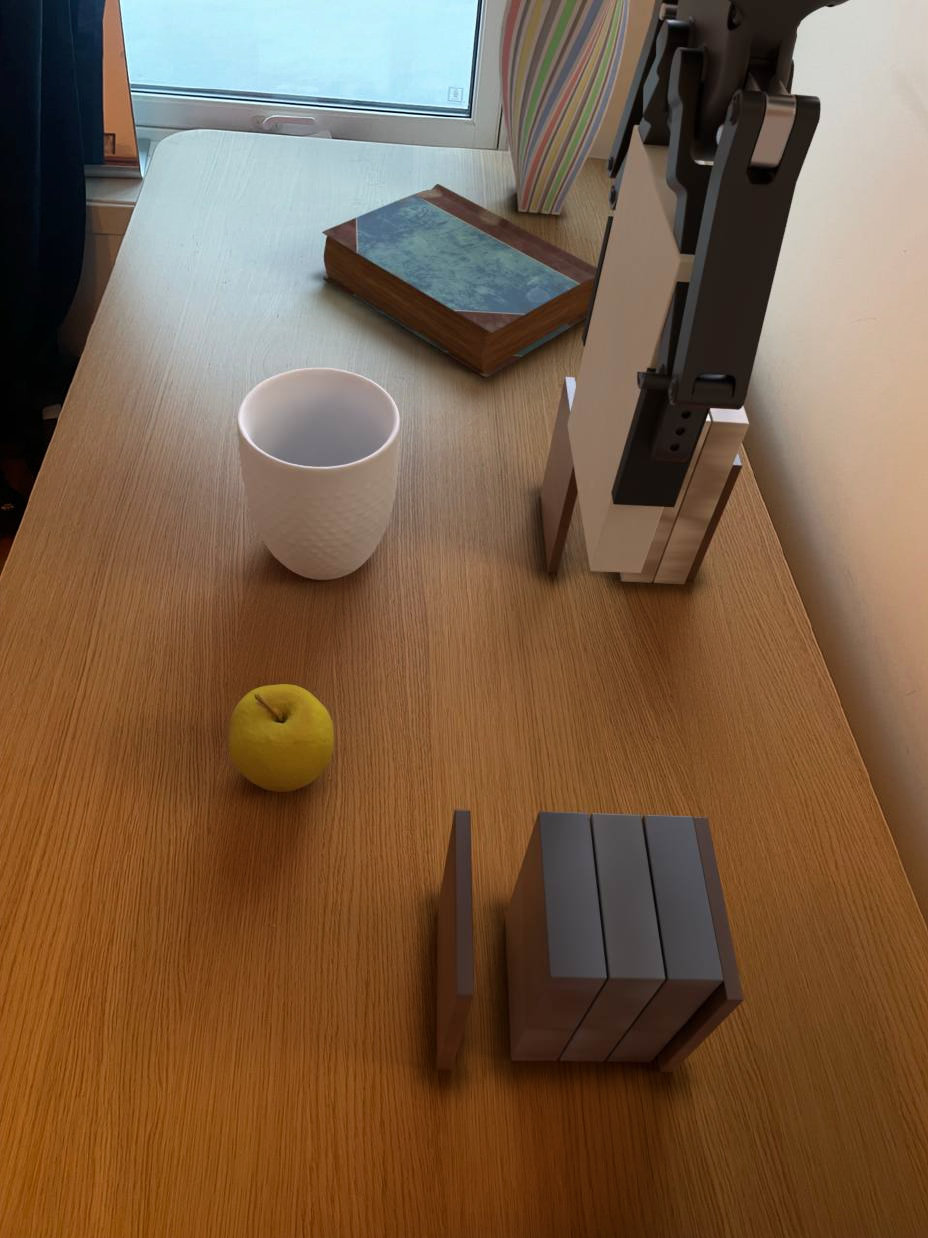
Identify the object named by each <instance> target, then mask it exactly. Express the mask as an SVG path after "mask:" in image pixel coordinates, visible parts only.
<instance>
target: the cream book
mask: <svg viewBox="0 0 928 1238" xmlns="http://www.w3.org/2000/svg"><path fill="white" fill-rule="evenodd" d="M638 127H639V125H634V128H633V133H632V137H631V141H630V146H629V150H628V155H627V159H626V164H625V168H624V173H623V177H622V182H621V186H620V191H619V195H618V200H617V204H616V209H615V210H614V214H613V216H614V218H613V222H612V227H611V231H610V236H609V240H608V245H607V249H606V254H605V258H604V263H603V267H602V272H601V276H600V281H599V285H598V290H597V294H596V299H595V303H594V308H593V312H592V317H591V321H590V326H589V330H588V335H587V339H586V344H585V346H584V349H583V353H582V356H581V357H582V358H581V362H580V367H579V370H578V375H577V380H576V388H575V393H574V397H573V402H572V406H571V411H570V415H569V420H568V424H567V426H568V432H569V438H570V445H571V451H572V458H573V464H574V470H575V477H576V483H577V490H578V494H577V497H578V501H579V508H580V515H581V521H582V527H583V534H584V540H585V546H586V547H585V548H586V552H587V553H586V554H587V559H588V566H589V570H590V572H606V573H607V572H608V573H620V572H625V573H641V570H642V568H643V565H644V562H645V559H646V556H647V553H648V550H649V548H650V545H651V542H652V539H653V536H654V533H655V531H656V528H657V525H658V522H659V519H660V516H661V513H662V511H663V508H664V507H656V506H635V505H615V504H613V500H612V494H611V491H612V488H613V485H614V481H615V478H616V474H617V471H618V467H619V464H620V460H621V457H622V453H623V450H624V446H625V443H626V439H627V436H628V432H629V429H630V426H631V422H632V419H633V415H634V412H635V408H636V405H637V401H638V398H639V394H640V391H641V389H639V388H638V385H637V372H646V370H647V367H649V368H654V369H656V368H657V366H658V358H659V349H660V341H661V334H662V330H663V327H664V323H665V320H666V317H667V313H668V310H669V306H670V303H671V300H672V296H673V293H674V289H675V286H676V282H677V281H680V282H690V279H691V273H692V268H693V263H694V258H695V255H689V254H680V252H679V249H678V246H677V243H676V240H675V237H674V234H673V230H674V221H675V212H676V204H677V196H676V194H675V193H674V192H673V191H672V190H671V189H670V188H669V187H668V185H667V183H666V171H667V162H668V153H669V146H658V145H646V144H643V143H642V140H641V137H640V134H639V131H638ZM694 161H695V162H696V163H698V164H704V165H707V163H706V161H699V160H694Z"/></svg>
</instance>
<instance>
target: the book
mask: <svg viewBox="0 0 928 1238" xmlns="http://www.w3.org/2000/svg"><path fill="white" fill-rule="evenodd" d="M321 233H322V234H323V235H325V236H326V238H325V243H324V244H325V245H324V249H323V263H324V268H325V273H326V274H324V275H323V278H324V279H325V280H327V281H329V282H330V283H331V284H333V285H335V286H336V287H338V288H340V289H341V290H342V291H344V292H346V293H348V294H350V295H351V296H353V297H354V298H356V299H358V300H359V301H361V302H362V303H364V304H366V306H369V308H372V309H373V310H375V311H377V312H378V313H380V314H382V315H383V316H385V317H386V318H388V319H390V320H391V321H393V322H394V323H396V324H398V325H399V326H400V327H402V328H404V329H406V330H407V331H409V332H410V333H412V334H414V335H415V336H417V337H419V338H420V339H422V340H423V341H425V342H426V343H429V345H431V346H433V347H435V348H436V349H437V350H439V351H441V352H443V353H444V354H446V355H448V356H449V357H450V358H453V359H454V360H456V361H457V362H458V363H461V364H462V365H464V366H465V367H467V368H469V369H470V370H472V371H473V372H475V373H476V374H478V375H480V376H482V377H483V378H485V379H486V378H489V377H490V376H492V375H494V374H495V373H497V372H499V371H500V370H502V369H504V368H505V367H507V366H509V365H510V364H512V363H514V362H515V361H517V360H519V359H520V358H522V357H524V356H525V355H527V354H529V353H530V352H532V351H534V350H535V349H537V348H539V347H540V346H542V345H544V344H546V343H547V342H548V341H550V340H552V339H553V338H556V337H557V336H558V335H560V334H562V333H563V332H565V331H567V330H569V329H570V328H572V327H574V326H575V325H576V324H578V323H580V322H581V321H583V320H584V319H586V316H587V312H588V307H589V302H590V298H591V293H592V289H593V284H594V280H595V275H596V270H597V267H596V266H595V265H593V264H591V263H588V262H587V261H585V260H583V259H582V258H579V257H577V256H575V255H574V254H572V253H570V252H568V251H566V250H564V249H563V248H560V247H559V246H557V245H555V244H553V243H551V242H549V241H548V240H545V239H544V238H541V237H539V236H538V235H536V234H534V233H532V232H530V231H528V230H527V229H525V228H523V227H521V226H519V225H517V224H516V223H513V222H511V221H509V220H507V219H505V218H503V217H502V216H500V215H498V214H496V213H494V212H493V211H491V210H488V209H486V208H485V207H483V206H481V205H479V204H477V203H475V202H473V201H472V200H470V199H468V198H466V197H464V196H463V195H460V194H459V193H456V192H455V191H453V190H451V189H449V188H448V187H445V186H443V185H441V184H440V183H436V184H435V185H434V186H433V187H432V188H431V189H426V190H422V191H419V192H416V193H413V194H411V195H408V196H406V197H403V198H401V199H397V200H395V201H393V202H390V203H387V204H385V205H383V206H381V207H378V208H375V209H373V210H370V211H368V212H365V213H363V214H361V215H359V216H357V217H354V218H351V219H349V220H347V221H344V222H342V223H340V224H337V225H334V226H333V227H330V228H327V229H326V230H323V231H322V232H321Z"/></svg>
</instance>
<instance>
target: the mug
mask: <svg viewBox="0 0 928 1238" xmlns="http://www.w3.org/2000/svg"><path fill="white" fill-rule="evenodd" d="M236 428H237V438H238V439H237V440H238V452H239V460H240V464H239V465H240V468H241V476H242V481H243V485H244V493H245V494H244V495H245V497H246V502H247V507H248V509H249V511H250V516H251V517H250V518H252V519H251V520H252V521H253V522H254V525H255V529H256V531H257V532H258V533H259V536H260V539H261V540H262V541H263V543H264V544H265V546H266V548H267V549H268V551H269V552H270V553H271V555H272V556H273V557H274V558H275V559H276V560H278V562H280V564H282V565H283V566H284V567H285V568H287V569H288V570H290V571H291V572H293V573H295V574H297V575H299V576H301V577H304V578H307V579H312V580H318V581H325V580H326V581H328V580H336V579H340V578H342V577H345V576H347V575H350V574H352V573H354V572H355V571H357V570H358V569H359V568H361V567H362V566H363V565H364V564H365V563H366V562H367V561H368V559H369V558H371V556H372V554H373V553H374V552H376V550H377V548H378V546H379V544H380V543H381V541H382V537H383V536H384V535H385V533H386V531H387V526H388V524H389V522H390V517H391V515H392V512H393V506H394V503H395V499H396V492H397V486H398V485H397V483H398V482H397V481H398V480H397V479H398V475H399V462H400V447H401V443H400V437H401V435H400V434H401V417H400V412H399V409H398V406H397V404H396V402H395V400H394V399H393V398H392V396H391V395H390V394H389V393H388V392H387V391H386V390H385V389H384V388H383V387H382V386H380V385H379V384H378V383H376V382H375V381H373V380H371V379H370V378H367V377H366V376H365V375H361V374H358V373H355V372H351V371H348V370H344V369H338V368H332V367H306V368H297V369H292V370H288V371H284V372H281V373H279V374H275V375H273V376H270V377H268V378H267V379H264V380H263V381H261V382H259V383H258V384H257V385H255V386H254V387H253V388H252V389H251V390H250V391H249V392H248V393H247V394H246V395H245V397H244V398H243V399H242V401H241V403H240V405H239V408H238V410H237V417H236Z"/></svg>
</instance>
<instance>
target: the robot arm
mask: <svg viewBox="0 0 928 1238" xmlns="http://www.w3.org/2000/svg"><path fill="white" fill-rule="evenodd" d="M849 1H850V0H654V5H653V8H652V13H651V18H650V21H649V25H648V28H647V31H646V34H645V37H644V41H643V44H642V48H641V51H640V55H639V56H638V57H639V58H638V61H637V64H636V68H635V71H634V74H633V77H632V80H631V84H630V86H629V90H628V93H627V97H626V101H625V104H624V107H623V110H622V114H621V117H620V120H619V124H618V127H617V130H616V133H615V137H614V140H613V143H612V146H611V150H610V153H609V157H608V158H607V160H606V166H605V168H606V169H605V170H606V171H607V178H608V179H614V181H613V183H612V185H610V186H611V187H610V190H609V192H608V202H609V209H610V211H615V209H616V204H617V200H618V195H619V191H620V186H621V182H622V177H623V173H624V168H625V164H626V159H627V155H628V150H629V146H630V141H631V137H632V133H633V128H634V125H639V127H638V131H639V134H640V137H641V140H642V143H643V144H646V145H658V146H669V153H668V162H667V171H666V183H667V185H668V187H669V188H670V189H671V190H672V191H673V192H674V193H675V194H676V196H677V204H676V212H675V221H674V230H673V234H674V237H675V240H676V243H677V246H678V249H679V252H680V254H689V255H695V258H694V263H693V268H692V273H691V279H690V282H680V281H677V282H676V286H675V289H674V293H673V296H672V300H671V303H670V306H669V310H668V313H667V317H666V320H665V323H664V327H663V330H662V334H661V341H660V349H659V358H658V366H657V368H656V369H654V368H649V367H647V370H646V372H637V385H638V388H639V389H641V391H640V394H639V398H638V401H637V405H636V408H635V412H634V415H633V419H632V422H631V426H630V429H629V432H628V436H627V439H626V443H625V446H624V450H623V453H622V457H621V460H620V464H619V467H618V471H617V474H616V478H615V481H614V485H613V488H612V491H611V494H612V500H613V504H615V505H635V506H656V507H675V504H676V501H677V499H678V496H679V493H680V490H681V488H682V485H683V482H684V479H685V477H686V474H687V471H688V468H689V466H690V463H691V460H692V457H693V455H694V452H695V449H696V446H697V444H698V441H699V438H700V435H701V433H702V430H703V427H704V424H705V422H706V419H707V416H708V413H709V411H710V408H715V409H734V410H739V409H741V408H742V406H745V402H746V399H747V396H748V391H749V386H750V382H751V378H752V374H753V369H754V365H755V360H756V356H757V352H758V349H759V344H760V339H761V336H762V331H763V327H764V322H765V320H766V319H765V318H766V314H767V310H768V306H769V301H770V297H771V293H772V288H773V285H774V279H775V275H776V272H777V267H778V264H779V258H780V254H781V251H782V246H783V242H784V239H785V233H786V229H787V226H788V225H787V224H788V221H789V215H790V213H791V208H792V204H793V199H794V195H795V190H796V187H797V182H798V179H799V176H800V175H801V171H802V169H803V167H804V164H805V162H806V158H807V155H808V152H809V149H810V147H811V144H812V142H813V138H814V136H815V133H816V131H817V128H818V125H819V123H820V120H821V110H822V107H821V106H822V105H821V99H820V98H819V96H816V95H807V94H806V95H805V94H795V93H793V94H792V88H793V81H794V76H795V75H794V74H795V61H794V59H793V57H794V52H795V48H796V43H797V39H798V28H799V27H800V25H801V23H802V22H803V20H804V19H806V18H807V17H808V16H809V15H812V13H814V12H816V11H819V10H820V9H821V8H825V7H827V8H834V7H837V6H840V5H843V4H846V3H847V2H849ZM694 160H699V161H704V162H711V163H712V162H713V163H712V164H706V165H704V164H698V163H696V162H695V161H694ZM613 218H614V215H613V216H612V215H608V217H607V221H606V225H605V229H604V233H603V239H602V243H601V248H600V253H599V257H598V262H597V267H596V268H597V270H596V275H595V280H594V284H593V289H592V293H591V298H590V302H589V307H588V312H587V316H586V318H585V321H584V326H583V330H582V335H581V341H582V345H583V347H585V344H586V339H587V335H588V330H589V326H590V321H591V317H592V312H593V308H594V303H595V299H596V294H597V290H598V285H599V281H600V276H601V272H602V267H603V263H604V258H605V254H606V249H607V245H608V240H609V236H610V231H611V227H612V222H613Z"/></svg>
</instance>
